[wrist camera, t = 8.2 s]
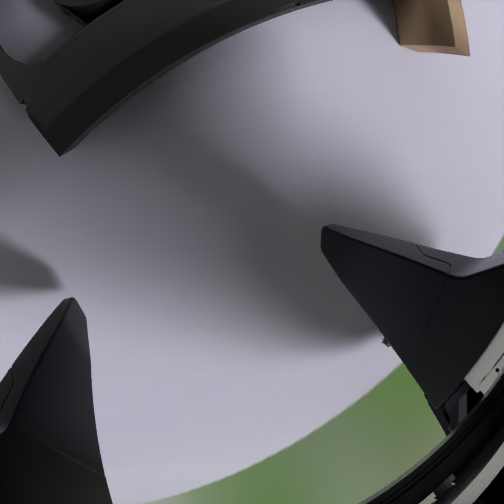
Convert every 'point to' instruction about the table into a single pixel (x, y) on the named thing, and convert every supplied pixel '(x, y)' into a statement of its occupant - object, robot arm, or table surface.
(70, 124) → the vhs tape
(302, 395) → the table surface
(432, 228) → the table surface
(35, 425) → the robot arm
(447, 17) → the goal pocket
